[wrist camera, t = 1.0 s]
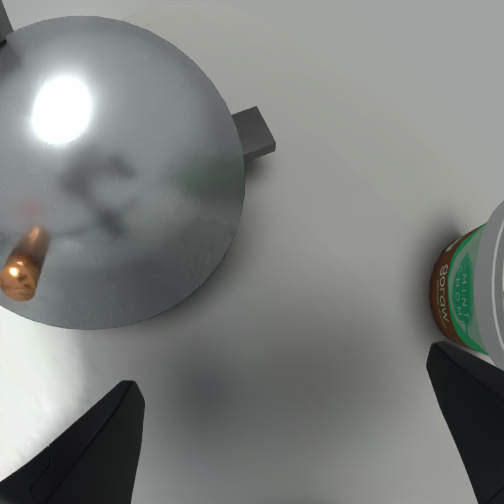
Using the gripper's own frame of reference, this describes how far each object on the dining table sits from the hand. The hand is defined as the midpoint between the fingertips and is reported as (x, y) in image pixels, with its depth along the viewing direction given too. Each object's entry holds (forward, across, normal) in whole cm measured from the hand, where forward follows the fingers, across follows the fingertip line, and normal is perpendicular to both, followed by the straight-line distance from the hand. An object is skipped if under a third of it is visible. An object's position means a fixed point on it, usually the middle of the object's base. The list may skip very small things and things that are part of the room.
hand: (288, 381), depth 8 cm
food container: (+13, -14, +7) cm, 21 cm away
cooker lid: (+5, +9, -7) cm, 13 cm away
